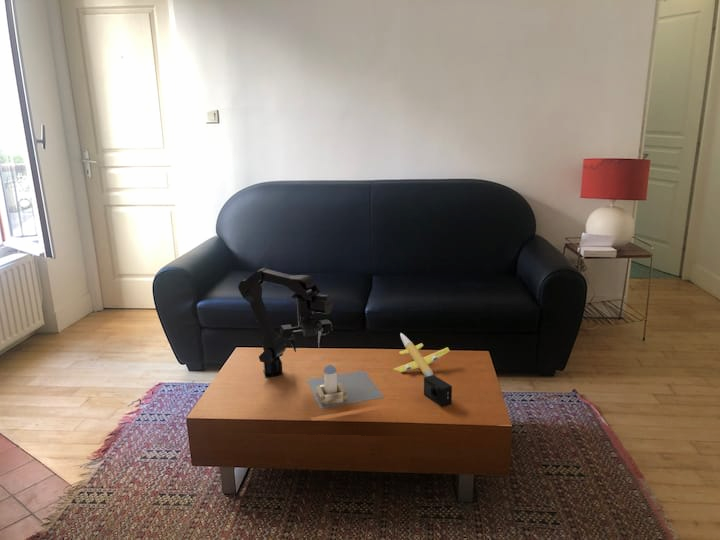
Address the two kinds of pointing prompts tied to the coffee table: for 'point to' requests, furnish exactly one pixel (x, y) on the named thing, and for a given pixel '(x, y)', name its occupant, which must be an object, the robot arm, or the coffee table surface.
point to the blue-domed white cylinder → (330, 379)
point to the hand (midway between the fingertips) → (307, 349)
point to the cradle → (331, 395)
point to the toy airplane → (419, 357)
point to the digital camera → (437, 390)
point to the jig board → (350, 388)
